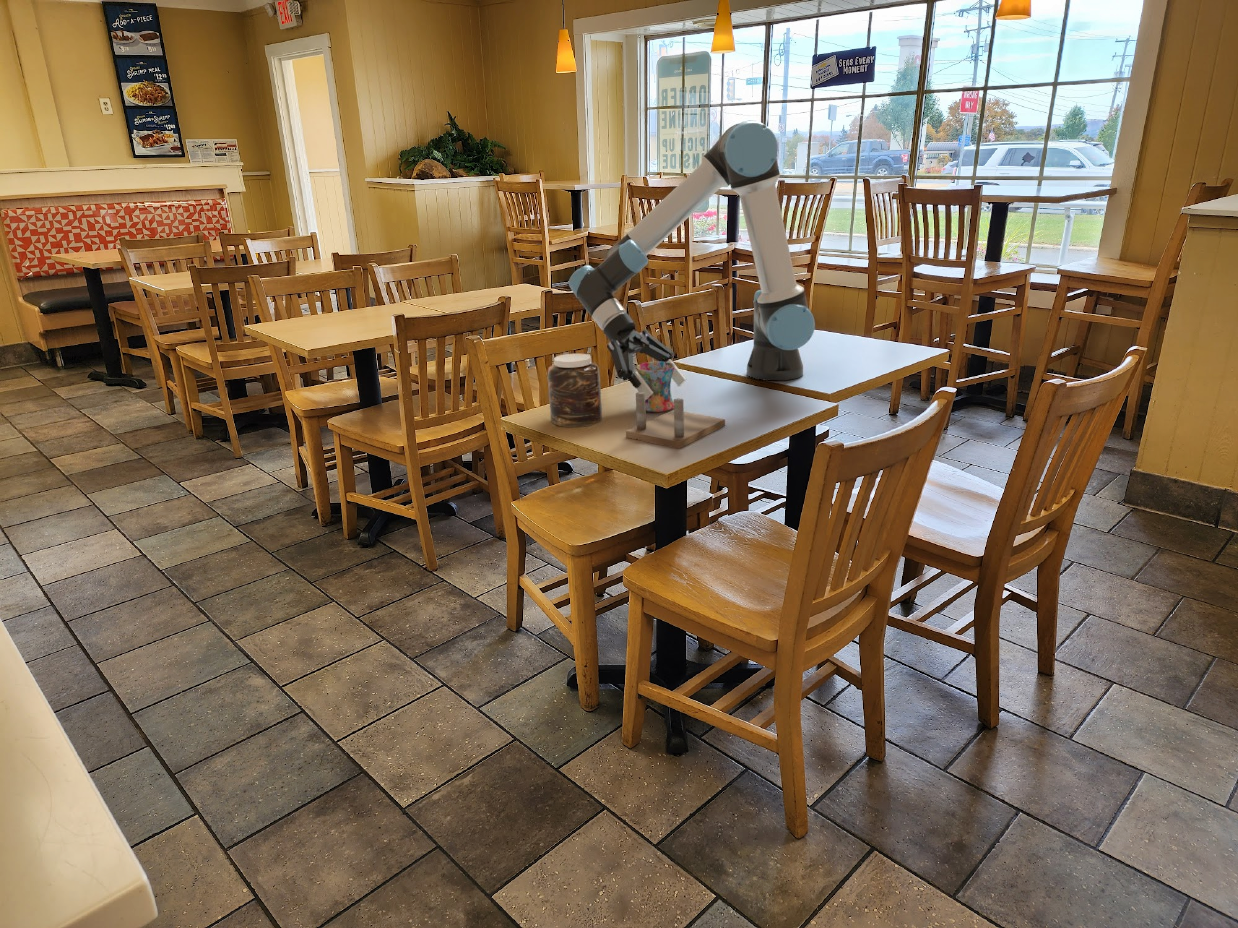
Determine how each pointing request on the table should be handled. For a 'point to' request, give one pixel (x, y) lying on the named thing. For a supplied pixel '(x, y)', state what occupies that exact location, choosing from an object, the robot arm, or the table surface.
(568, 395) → the jar
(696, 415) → the board
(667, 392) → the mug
